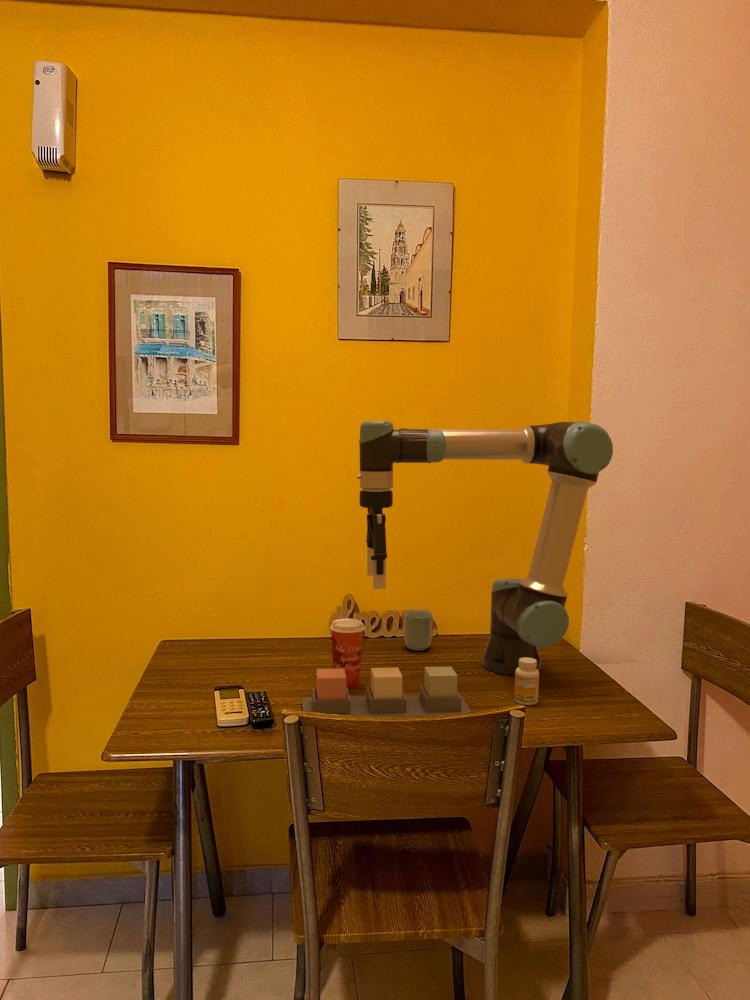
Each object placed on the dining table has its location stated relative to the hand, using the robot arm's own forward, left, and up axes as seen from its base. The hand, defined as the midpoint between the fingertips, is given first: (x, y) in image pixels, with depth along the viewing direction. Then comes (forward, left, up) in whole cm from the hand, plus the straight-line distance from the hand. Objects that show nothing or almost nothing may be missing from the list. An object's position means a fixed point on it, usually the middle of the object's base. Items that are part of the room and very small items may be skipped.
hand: (376, 581), depth 171 cm
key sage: (-13, +12, -22) cm, 29 cm away
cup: (-16, -32, -27) cm, 45 cm away
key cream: (-1, +12, -22) cm, 25 cm away
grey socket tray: (-1, +12, -26) cm, 29 cm away
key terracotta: (+11, +12, -22) cm, 27 cm away
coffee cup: (+6, -6, -26) cm, 28 cm away
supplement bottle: (-34, +8, -27) cm, 44 cm away
